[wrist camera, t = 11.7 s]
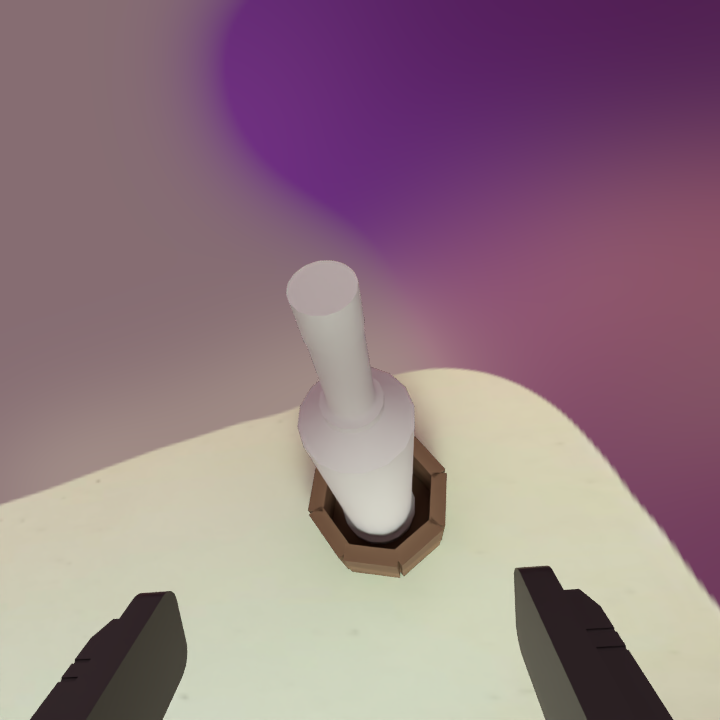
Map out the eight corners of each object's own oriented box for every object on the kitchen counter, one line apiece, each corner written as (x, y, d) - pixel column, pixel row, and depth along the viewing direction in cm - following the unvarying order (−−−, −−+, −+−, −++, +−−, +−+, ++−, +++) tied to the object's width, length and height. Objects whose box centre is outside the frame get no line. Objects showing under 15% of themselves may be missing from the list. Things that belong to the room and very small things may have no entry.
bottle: (422, 540, 32) (435, 346, 11) (350, 553, 32) (229, 382, 11) (407, 470, 35) (396, 209, 14) (341, 482, 35) (231, 239, 14)
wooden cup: (314, 566, 33) (299, 555, 29) (334, 449, 38) (323, 424, 34) (439, 582, 32) (443, 573, 28) (444, 459, 36) (447, 434, 32)
